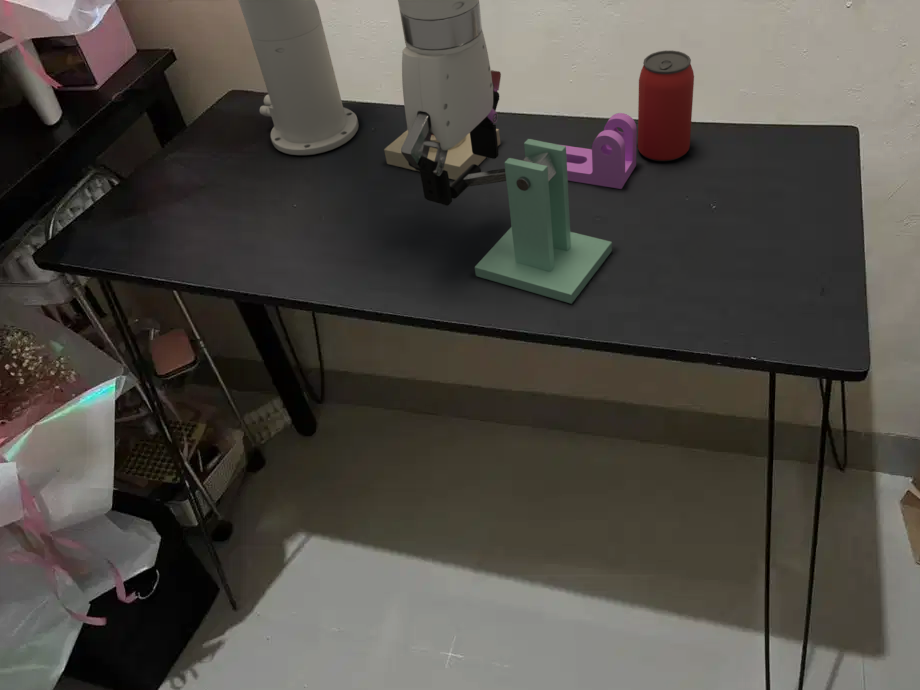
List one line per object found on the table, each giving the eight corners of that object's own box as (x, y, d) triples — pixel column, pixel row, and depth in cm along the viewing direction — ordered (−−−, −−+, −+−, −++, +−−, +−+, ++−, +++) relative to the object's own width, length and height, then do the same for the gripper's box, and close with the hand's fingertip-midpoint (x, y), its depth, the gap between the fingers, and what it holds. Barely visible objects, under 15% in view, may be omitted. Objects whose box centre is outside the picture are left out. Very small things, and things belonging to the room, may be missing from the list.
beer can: (631, 160, 107) (632, 70, 98) (645, 134, 111) (647, 46, 103) (682, 166, 105) (688, 75, 96) (694, 140, 109) (701, 50, 100)
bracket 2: (636, 165, 106) (636, 115, 101) (621, 189, 103) (621, 137, 98) (541, 151, 111) (538, 102, 106) (524, 173, 107) (520, 123, 102)
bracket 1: (475, 276, 93) (458, 167, 84) (519, 227, 99) (508, 120, 89) (571, 304, 88) (565, 192, 79) (612, 251, 94) (611, 140, 84)
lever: (451, 203, 91) (442, 184, 90) (475, 179, 94) (466, 160, 93) (540, 191, 83) (531, 170, 82) (563, 166, 86) (554, 145, 85)
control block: (387, 163, 113) (381, 137, 110) (428, 128, 118) (423, 102, 115) (461, 181, 108) (457, 153, 105) (500, 143, 113) (497, 116, 110)
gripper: (457, -17, 86) (474, 132, 98) (355, 56, 76) (389, 212, 88) (520, -8, 83) (530, 145, 95) (423, 70, 73) (449, 229, 85)
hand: (462, 177), depth 92 cm, fingers open, 9 cm apart
